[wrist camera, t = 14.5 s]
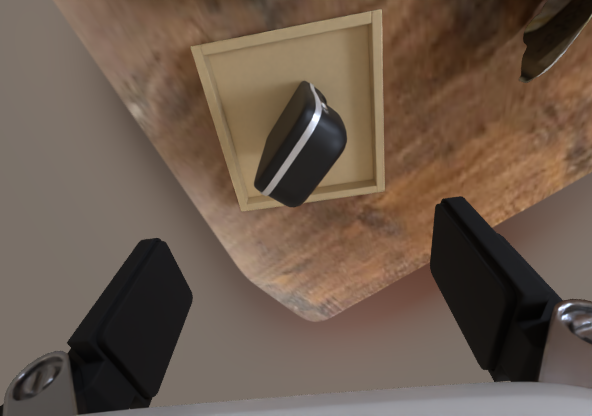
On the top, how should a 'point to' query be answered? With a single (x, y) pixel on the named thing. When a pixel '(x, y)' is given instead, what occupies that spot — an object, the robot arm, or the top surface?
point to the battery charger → (300, 148)
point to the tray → (280, 88)
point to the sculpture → (552, 34)
